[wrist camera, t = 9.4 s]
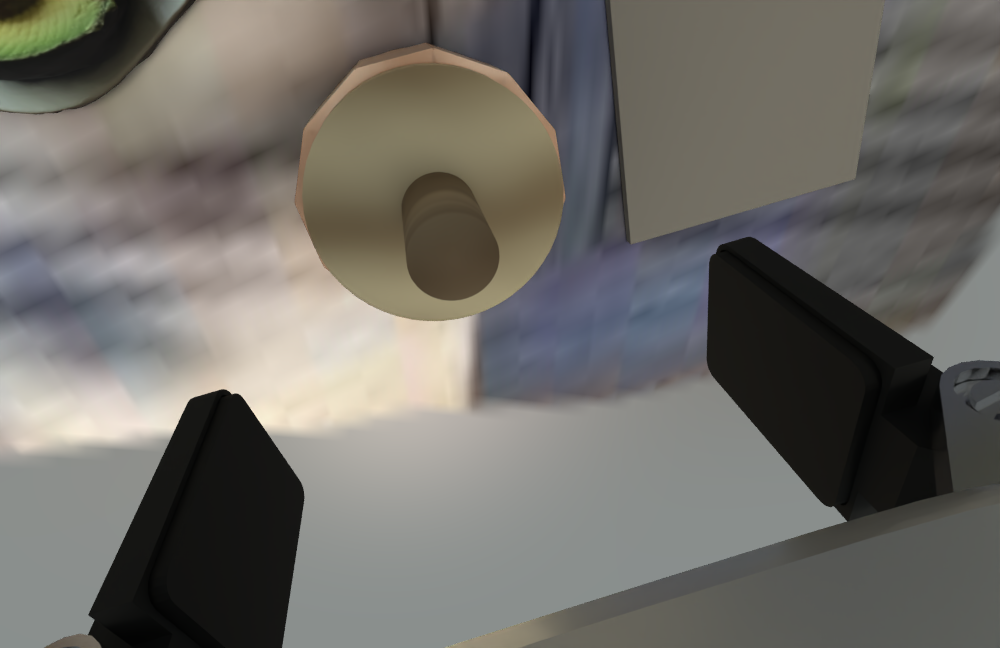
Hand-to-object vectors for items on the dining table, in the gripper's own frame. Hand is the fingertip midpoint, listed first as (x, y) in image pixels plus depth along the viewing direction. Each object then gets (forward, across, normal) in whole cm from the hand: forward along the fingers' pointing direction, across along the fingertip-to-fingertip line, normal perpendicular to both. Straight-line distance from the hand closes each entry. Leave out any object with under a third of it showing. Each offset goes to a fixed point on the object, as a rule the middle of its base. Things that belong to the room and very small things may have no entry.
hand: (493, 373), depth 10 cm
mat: (+18, -17, +1) cm, 25 cm away
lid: (+13, 0, +1) cm, 13 cm away
